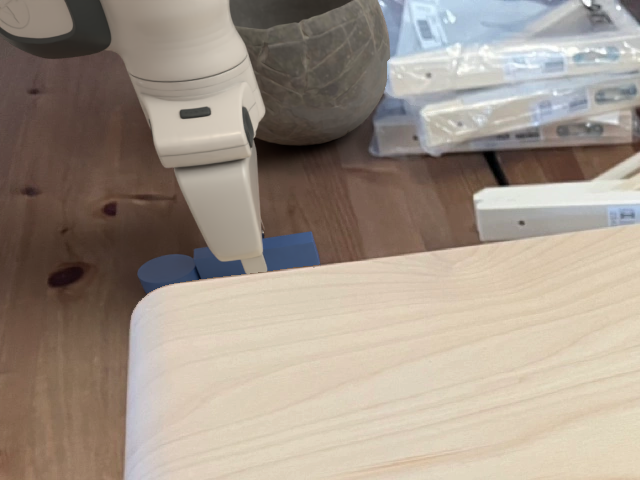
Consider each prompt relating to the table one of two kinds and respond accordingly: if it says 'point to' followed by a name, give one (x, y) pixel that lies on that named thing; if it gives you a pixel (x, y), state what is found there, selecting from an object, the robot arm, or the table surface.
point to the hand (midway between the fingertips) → (256, 253)
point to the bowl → (314, 64)
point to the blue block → (227, 262)
